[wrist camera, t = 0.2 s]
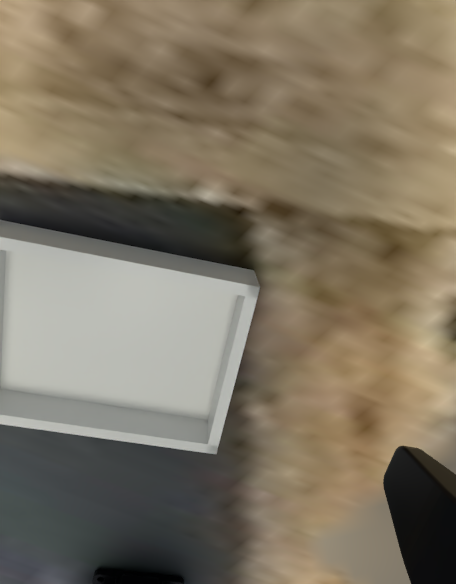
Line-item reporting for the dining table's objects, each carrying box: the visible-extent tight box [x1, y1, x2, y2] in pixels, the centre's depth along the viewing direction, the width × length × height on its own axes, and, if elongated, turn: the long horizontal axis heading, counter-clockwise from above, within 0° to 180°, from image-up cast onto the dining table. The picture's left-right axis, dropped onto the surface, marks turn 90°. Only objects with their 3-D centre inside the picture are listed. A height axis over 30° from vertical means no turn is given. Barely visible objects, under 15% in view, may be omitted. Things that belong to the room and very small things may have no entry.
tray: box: [0, 220, 260, 454], centre depth 22 cm, size 10×13×3 cm
